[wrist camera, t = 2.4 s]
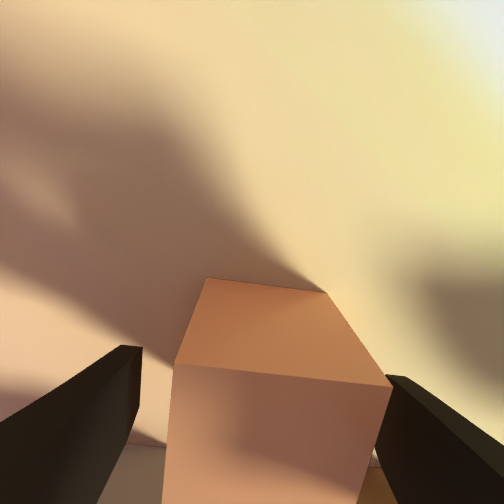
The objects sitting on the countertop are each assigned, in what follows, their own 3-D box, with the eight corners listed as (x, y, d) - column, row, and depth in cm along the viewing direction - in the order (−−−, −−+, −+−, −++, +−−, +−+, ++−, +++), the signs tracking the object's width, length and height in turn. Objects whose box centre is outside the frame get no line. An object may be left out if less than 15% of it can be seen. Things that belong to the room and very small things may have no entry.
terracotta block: (326, 292, 11) (392, 387, 6) (303, 392, 12) (344, 541, 7) (207, 277, 10) (173, 362, 6) (195, 380, 12) (159, 527, 7)
